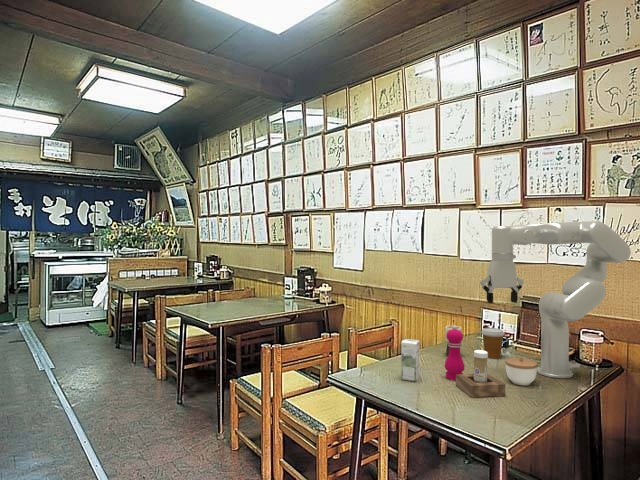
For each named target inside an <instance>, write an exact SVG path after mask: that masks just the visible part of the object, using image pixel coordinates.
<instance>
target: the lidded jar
mask: <svg viewBox="0 0 640 480" xmlns="http://www.w3.org/2000/svg"><path fill="white" fill-rule="evenodd" d="M504 362H505V371H506V375H507V377H508V379H509V380H510V381H511V382H512V383H513V384H515V385H517V386H530V385H531V383H532V382H534V380H535V379H536V377H537V373H538V372H537V367H538V363H537V362H536V361H534V360H532V359H529V358H523V356H519V357H509V358H506V359H505V361H504Z"/></svg>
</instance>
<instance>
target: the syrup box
mask: <svg viewBox="0 0 640 480" xmlns="http://www.w3.org/2000/svg"><path fill="white" fill-rule="evenodd" d="M400 343H401V344H400V345H401V346H400V347H401V353H400V354H401V359H400V360H401V363H400V364H401V367H400V368H401V369H400V371H401V373H400V375H401V376H400V377H401V380H402V381H409V382H417V381H418V379H420V340H419V339H411V338H409V339H408V338H404V339H402V340H401V342H400Z"/></svg>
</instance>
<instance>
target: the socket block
mask: <svg viewBox="0 0 640 480" xmlns="http://www.w3.org/2000/svg"><path fill="white" fill-rule="evenodd" d="M455 386H456V387H457V386H458V387H457V388H459V389H460V390H461V391H463V392H464V393H465V394H466V395H467V396H468V397H470V398H471V399H475V398H491V397H492V398H495V397H506V383H504V382H502V381H501V380H499V379H498V378H496V377H495V376H493V375H492V374H490V373H489V372H487V382H483V383H475V382H474V373H463V374H456V380H455Z"/></svg>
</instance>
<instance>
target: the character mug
mask: <svg viewBox="0 0 640 480" xmlns="http://www.w3.org/2000/svg"><path fill="white" fill-rule="evenodd" d="M453 326H454V325H446V326H445V328H444V340H445V342H447V344H446V351H445V355H446V356H448V355H449V346H448V342H449V341H448V339H447V337H446V335H447V332H448V331H449V330H451V329H452V327H453ZM456 326H457V330H459V331H461V332H462V333H463V330H462V329H463V328H462V327H461V326H460V325H459V326H458V325H456ZM460 355H461V353H460ZM461 356H462V355H461Z"/></svg>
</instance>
